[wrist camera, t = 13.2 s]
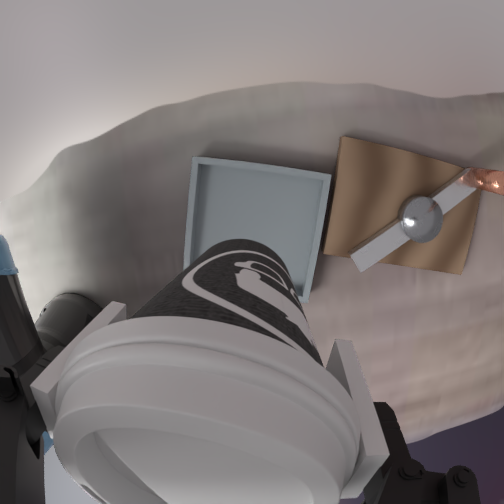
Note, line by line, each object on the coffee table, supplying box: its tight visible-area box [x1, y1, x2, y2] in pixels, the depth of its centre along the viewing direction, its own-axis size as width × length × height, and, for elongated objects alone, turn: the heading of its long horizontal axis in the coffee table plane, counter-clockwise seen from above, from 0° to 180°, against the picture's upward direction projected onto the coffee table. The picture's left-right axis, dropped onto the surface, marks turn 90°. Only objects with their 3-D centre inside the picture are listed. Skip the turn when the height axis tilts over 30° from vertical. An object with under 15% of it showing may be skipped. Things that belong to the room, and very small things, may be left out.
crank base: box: [322, 136, 481, 275], centre depth 33 cm, size 19×13×2 cm
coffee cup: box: [53, 239, 361, 504], centre depth 13 cm, size 10×10×15 cm
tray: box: [183, 156, 331, 303], centre depth 35 cm, size 14×14×2 cm
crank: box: [348, 167, 504, 272], centre depth 29 cm, size 19×5×7 cm, turn 126°
